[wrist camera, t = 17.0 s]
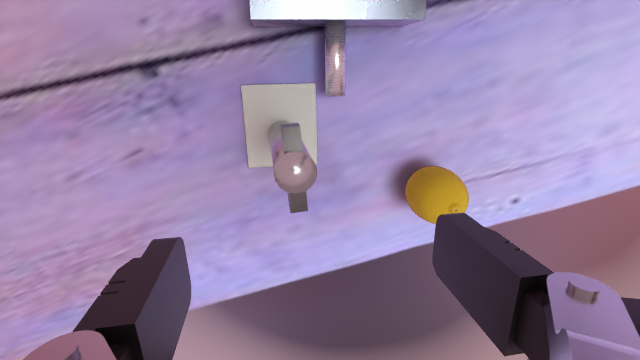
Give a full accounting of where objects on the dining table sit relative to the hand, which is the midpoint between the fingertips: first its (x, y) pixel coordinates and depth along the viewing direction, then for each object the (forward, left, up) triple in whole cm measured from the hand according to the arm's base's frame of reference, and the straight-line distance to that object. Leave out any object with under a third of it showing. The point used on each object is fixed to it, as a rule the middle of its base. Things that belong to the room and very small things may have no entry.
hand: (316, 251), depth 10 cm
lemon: (+7, +15, -24) cm, 29 cm away
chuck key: (+1, 0, -24) cm, 24 cm away
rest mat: (0, 0, -24) cm, 24 cm away
